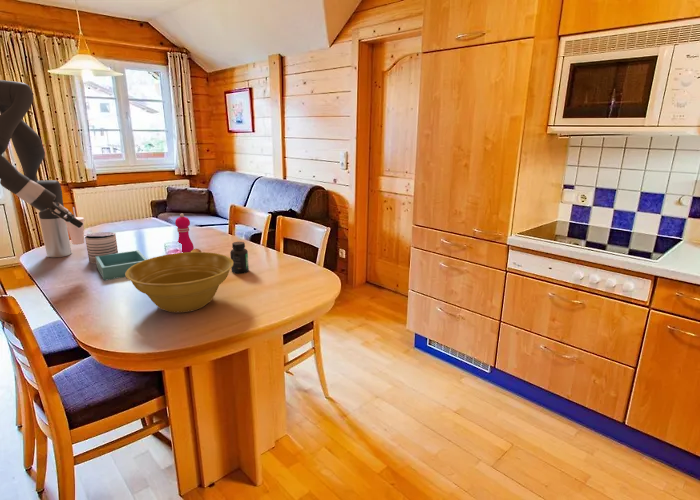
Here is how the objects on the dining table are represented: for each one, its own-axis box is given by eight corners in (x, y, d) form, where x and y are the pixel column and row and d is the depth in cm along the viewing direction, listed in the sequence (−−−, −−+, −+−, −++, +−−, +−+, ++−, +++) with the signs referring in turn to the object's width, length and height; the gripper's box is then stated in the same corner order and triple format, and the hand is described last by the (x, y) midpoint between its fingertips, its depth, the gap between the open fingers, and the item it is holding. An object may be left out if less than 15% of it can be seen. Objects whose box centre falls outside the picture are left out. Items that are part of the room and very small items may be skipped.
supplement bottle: (252, 271, 169) (250, 243, 166) (237, 275, 164) (235, 246, 161) (242, 267, 174) (241, 239, 170) (228, 271, 169) (226, 242, 165)
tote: (97, 267, 170) (95, 256, 169) (139, 261, 179) (138, 250, 178) (104, 280, 156) (102, 267, 155) (149, 272, 166) (148, 260, 164)
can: (82, 261, 178) (78, 234, 174) (106, 254, 188) (102, 229, 184) (101, 265, 174) (97, 237, 170) (125, 257, 184) (121, 231, 180)
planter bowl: (126, 334, 116) (120, 289, 112) (133, 293, 144) (128, 257, 141) (243, 316, 129) (241, 275, 125) (228, 282, 157) (226, 248, 153)
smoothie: (78, 246, 155) (72, 209, 151) (64, 244, 156) (57, 208, 152) (92, 241, 161) (86, 206, 157) (78, 240, 162) (72, 205, 158)
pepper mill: (197, 255, 188) (194, 212, 183) (187, 260, 182) (182, 215, 176) (184, 254, 191) (180, 211, 185) (173, 258, 184) (169, 214, 178)
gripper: (44, 190, 143) (89, 219, 153) (43, 185, 154) (85, 213, 164) (28, 206, 141) (75, 235, 151) (28, 200, 152) (71, 228, 162)
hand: (80, 224), depth 158 cm, fingers closed on smoothie, 6 cm apart
